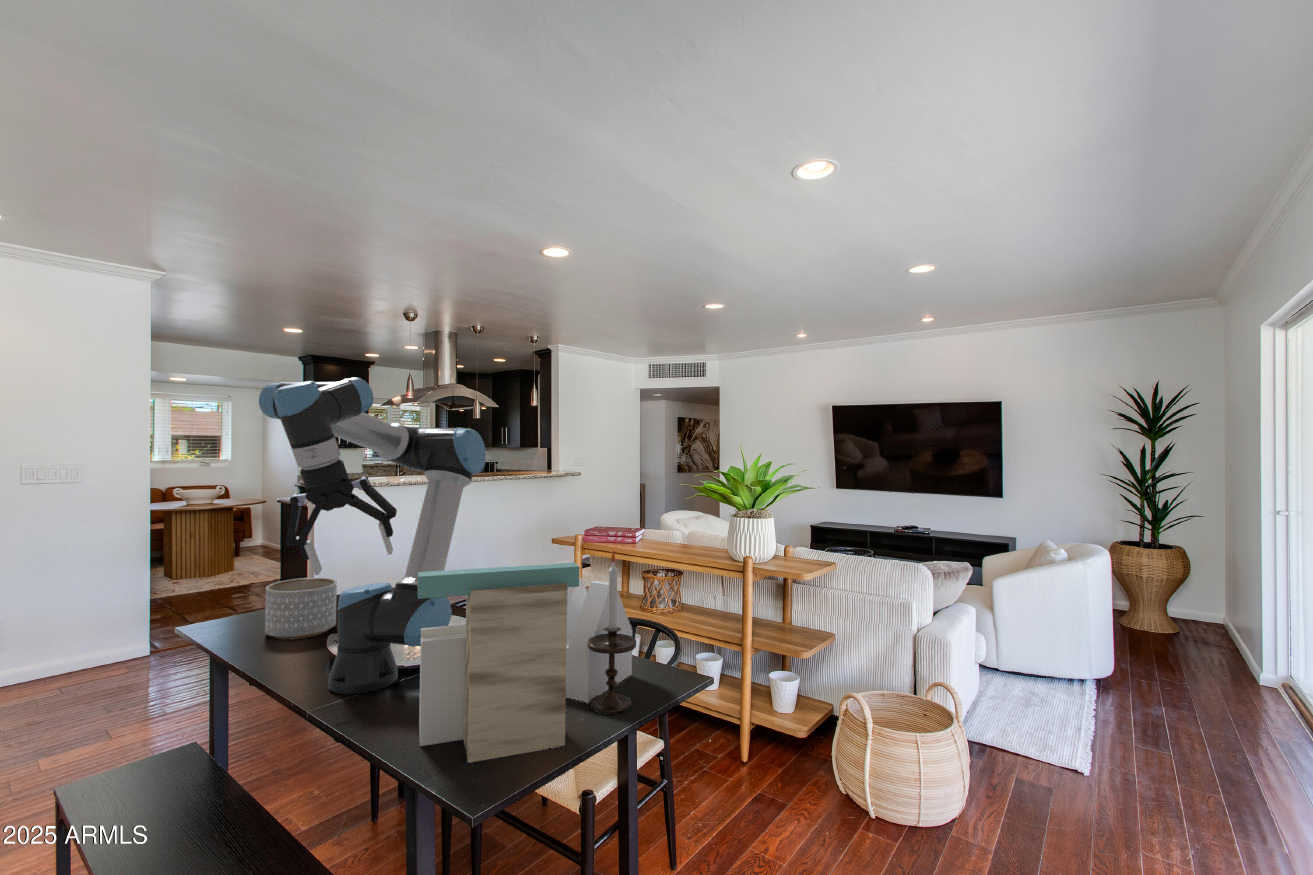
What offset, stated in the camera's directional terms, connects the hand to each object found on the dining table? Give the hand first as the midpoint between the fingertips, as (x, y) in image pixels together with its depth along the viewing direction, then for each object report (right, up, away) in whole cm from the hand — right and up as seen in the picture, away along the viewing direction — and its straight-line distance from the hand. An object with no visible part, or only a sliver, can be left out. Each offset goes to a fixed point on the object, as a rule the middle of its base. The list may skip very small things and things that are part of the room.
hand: (355, 561), depth 124 cm
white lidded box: (+22, -34, +2) cm, 41 cm away
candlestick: (+50, -35, +14) cm, 63 cm away
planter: (-47, -34, +63) cm, 86 cm away
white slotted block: (+43, -35, +27) cm, 62 cm away
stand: (+33, -34, -4) cm, 48 cm away
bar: (+30, -4, -5) cm, 31 cm away
